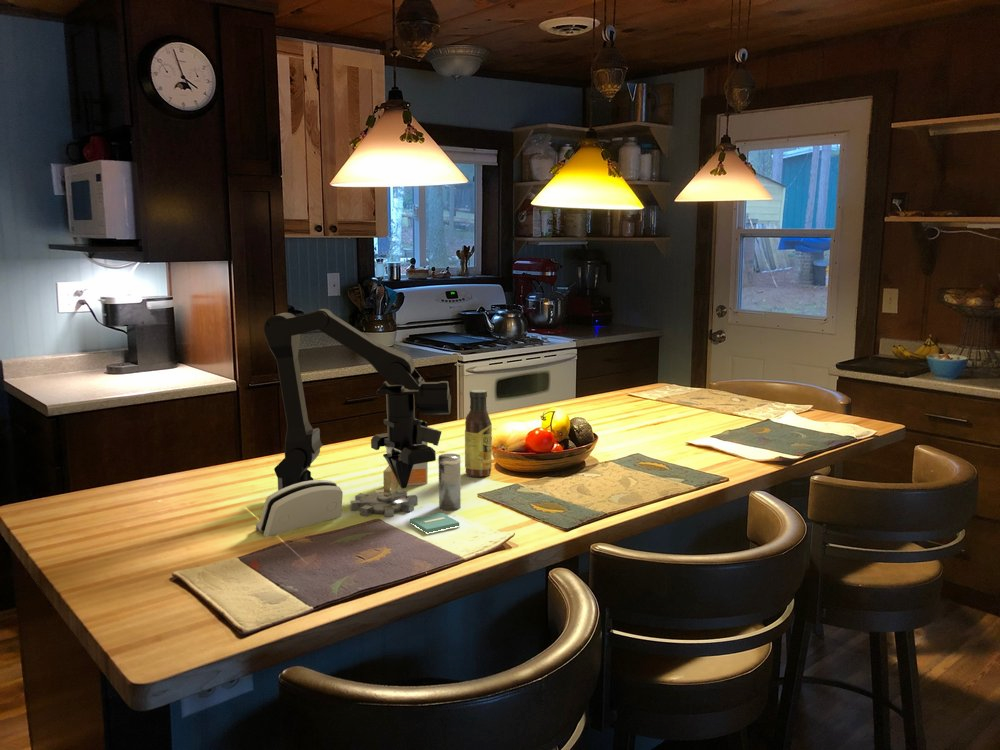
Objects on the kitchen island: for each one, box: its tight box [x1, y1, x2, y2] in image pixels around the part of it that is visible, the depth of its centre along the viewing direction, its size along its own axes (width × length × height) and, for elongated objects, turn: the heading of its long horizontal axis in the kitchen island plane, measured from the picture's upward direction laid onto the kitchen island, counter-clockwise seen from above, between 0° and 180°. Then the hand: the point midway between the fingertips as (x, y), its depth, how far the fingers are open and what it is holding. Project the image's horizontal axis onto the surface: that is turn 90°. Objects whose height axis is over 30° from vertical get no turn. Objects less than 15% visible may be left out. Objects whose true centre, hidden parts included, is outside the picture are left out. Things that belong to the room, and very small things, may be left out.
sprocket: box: [349, 465, 419, 518], centre depth 174 cm, size 16×13×6 cm
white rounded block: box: [255, 479, 344, 538], centre depth 162 cm, size 17×5×10 cm, turn 134°
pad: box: [409, 512, 460, 533], centre depth 162 cm, size 7×7×1 cm
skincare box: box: [407, 441, 429, 486], centre depth 190 cm, size 6×4×12 cm
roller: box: [437, 453, 462, 512], centre depth 172 cm, size 4×4×11 cm
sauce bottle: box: [464, 389, 493, 478], centre depth 196 cm, size 7×6×20 cm
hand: (403, 487), depth 176 cm, fingers closed
